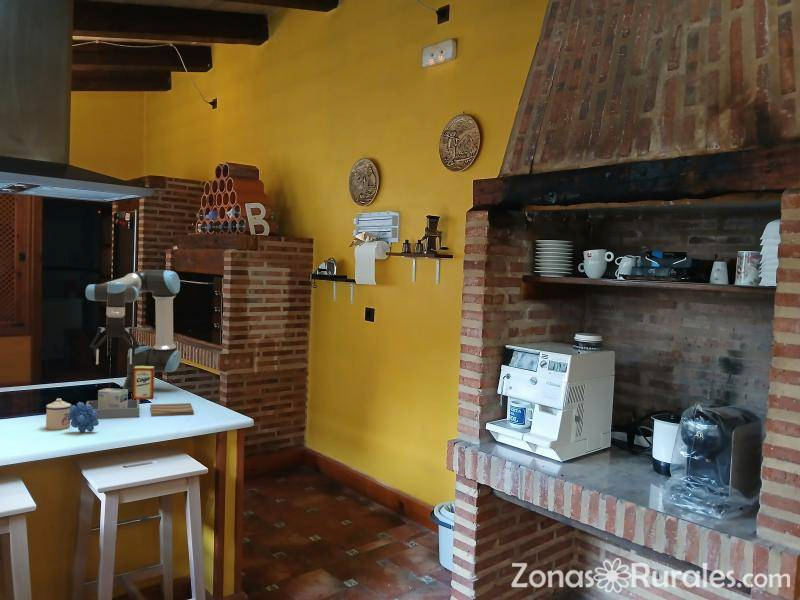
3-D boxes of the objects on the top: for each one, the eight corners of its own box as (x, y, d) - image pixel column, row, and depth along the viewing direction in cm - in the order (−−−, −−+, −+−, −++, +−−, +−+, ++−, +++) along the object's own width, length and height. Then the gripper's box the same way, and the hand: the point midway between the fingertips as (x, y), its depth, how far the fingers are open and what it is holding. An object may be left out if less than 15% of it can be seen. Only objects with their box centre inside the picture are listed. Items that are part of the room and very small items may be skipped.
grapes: (63, 434, 243) (63, 404, 243) (69, 430, 250) (69, 400, 249) (95, 434, 245) (96, 404, 245) (100, 430, 252) (101, 401, 251)
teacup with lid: (65, 430, 250) (66, 401, 249) (41, 430, 248) (42, 401, 248) (76, 423, 262) (77, 395, 261) (53, 422, 260) (54, 394, 260)
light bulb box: (127, 412, 284) (128, 389, 283) (119, 416, 277) (120, 391, 276) (105, 411, 285) (106, 387, 284) (96, 414, 278) (97, 390, 278)
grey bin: (86, 409, 285) (87, 400, 285) (139, 407, 294) (139, 399, 294) (83, 419, 268) (83, 410, 268) (139, 417, 276) (139, 408, 276)
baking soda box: (153, 396, 320) (154, 365, 319) (152, 399, 314) (153, 367, 313) (133, 396, 317) (134, 365, 316) (132, 399, 311) (133, 367, 310)
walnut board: (150, 407, 295) (150, 404, 295) (190, 406, 302) (190, 403, 302) (151, 416, 279) (151, 413, 279) (193, 414, 286) (193, 411, 286)
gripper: (83, 316, 271) (82, 365, 271) (145, 317, 280) (144, 364, 281) (85, 315, 278) (83, 362, 278) (145, 316, 287) (144, 362, 288)
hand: (114, 363), depth 280 cm, fingers open, 13 cm apart
